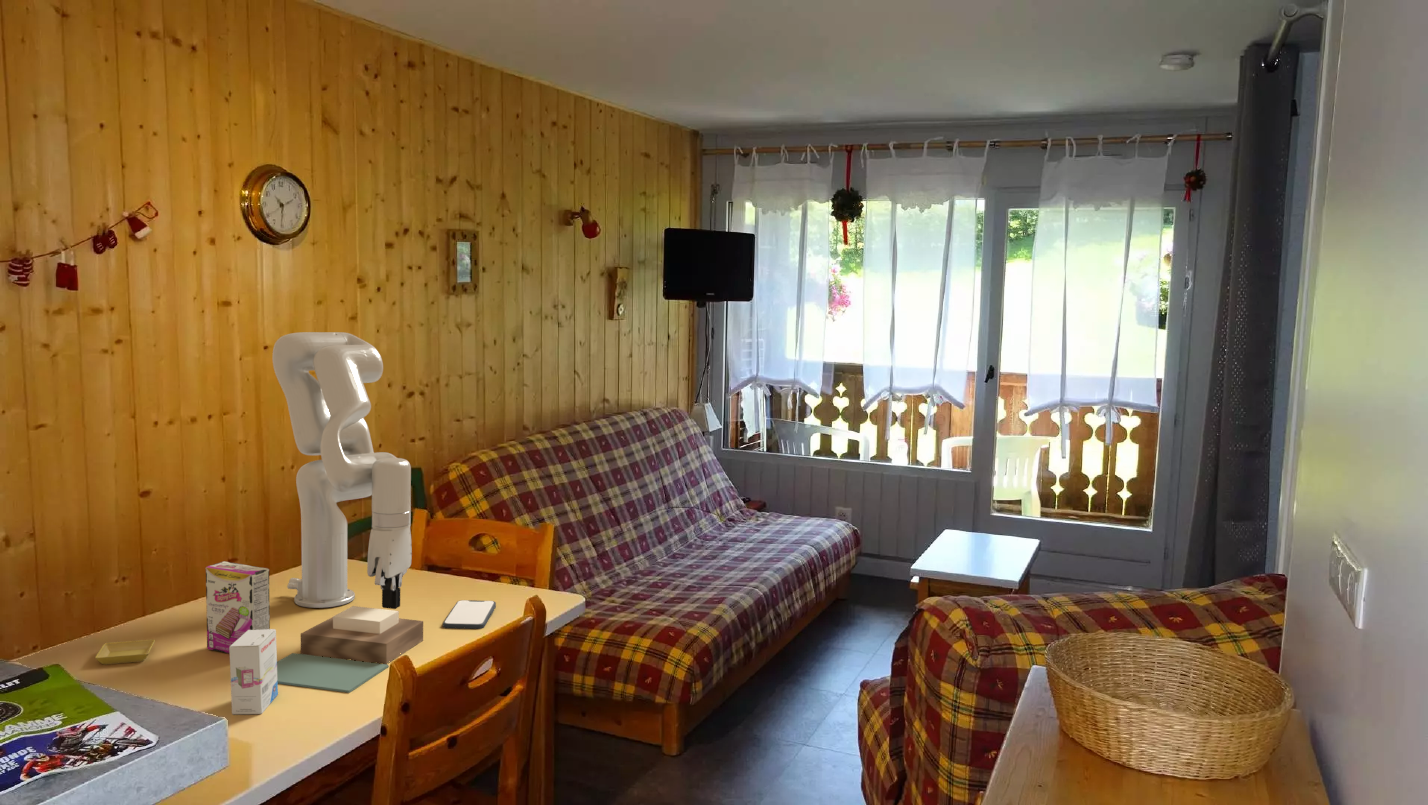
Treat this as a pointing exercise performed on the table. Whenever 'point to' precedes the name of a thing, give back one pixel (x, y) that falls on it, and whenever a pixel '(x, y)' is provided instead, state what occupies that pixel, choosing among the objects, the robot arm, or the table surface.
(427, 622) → the table surface
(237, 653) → the ink box
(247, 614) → the candy bar box
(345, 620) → the tile
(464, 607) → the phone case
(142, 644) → the yellow square dish
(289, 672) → the mat
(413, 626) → the block
